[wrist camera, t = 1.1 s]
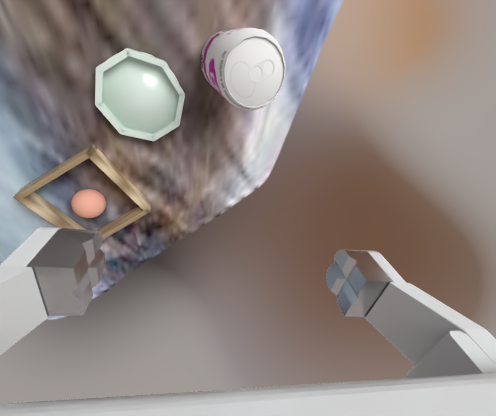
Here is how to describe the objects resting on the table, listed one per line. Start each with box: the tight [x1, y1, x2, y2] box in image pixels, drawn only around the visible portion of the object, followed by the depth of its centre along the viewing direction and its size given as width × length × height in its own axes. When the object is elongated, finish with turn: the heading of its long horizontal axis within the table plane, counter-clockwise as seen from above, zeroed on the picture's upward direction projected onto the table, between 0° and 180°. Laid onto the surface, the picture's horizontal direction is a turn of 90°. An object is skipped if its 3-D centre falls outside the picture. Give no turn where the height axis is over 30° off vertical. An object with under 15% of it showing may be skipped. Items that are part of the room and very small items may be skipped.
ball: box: [71, 189, 106, 218], centre depth 42 cm, size 5×5×5 cm
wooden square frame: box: [13, 144, 151, 239], centre depth 43 cm, size 14×14×3 cm
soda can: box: [201, 28, 285, 111], centre depth 32 cm, size 8×8×15 cm
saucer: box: [95, 48, 185, 141], centre depth 37 cm, size 12×12×2 cm
